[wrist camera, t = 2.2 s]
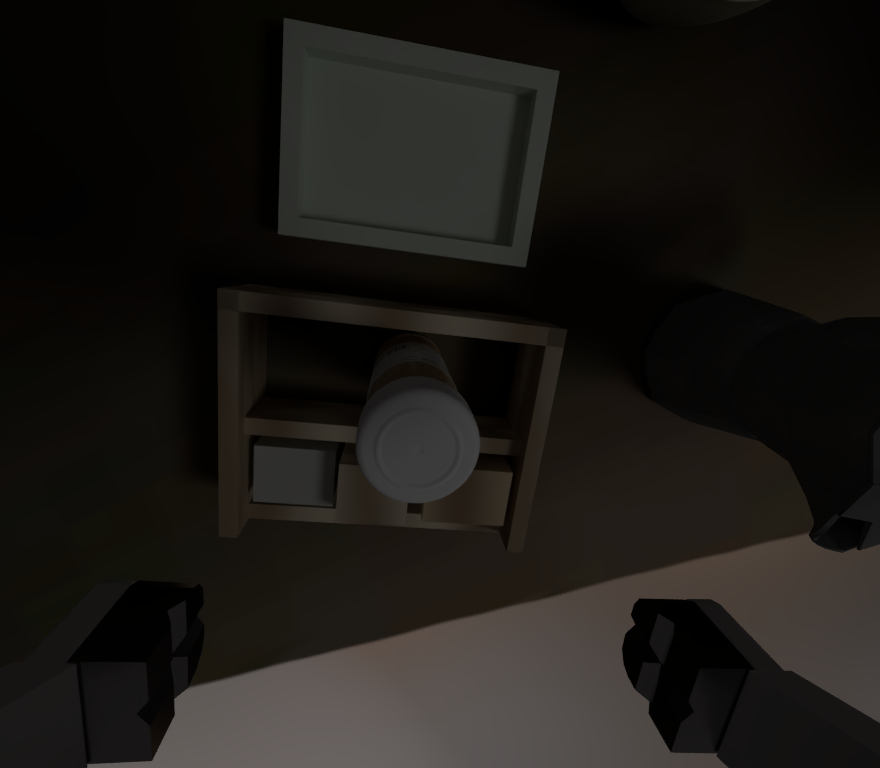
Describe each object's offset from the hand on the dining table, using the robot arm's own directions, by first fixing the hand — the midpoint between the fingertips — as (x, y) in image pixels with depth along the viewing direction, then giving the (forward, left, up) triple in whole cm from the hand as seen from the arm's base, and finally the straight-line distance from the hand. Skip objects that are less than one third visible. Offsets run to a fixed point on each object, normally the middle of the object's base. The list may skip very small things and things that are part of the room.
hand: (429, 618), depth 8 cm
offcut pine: (+1, +6, -21) cm, 22 cm away
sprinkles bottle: (0, 0, -21) cm, 21 cm away
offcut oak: (-4, +6, -21) cm, 22 cm away
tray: (+1, -12, -21) cm, 24 cm away
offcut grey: (+6, +6, -21) cm, 23 cm away
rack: (+1, +3, -21) cm, 21 cm away
